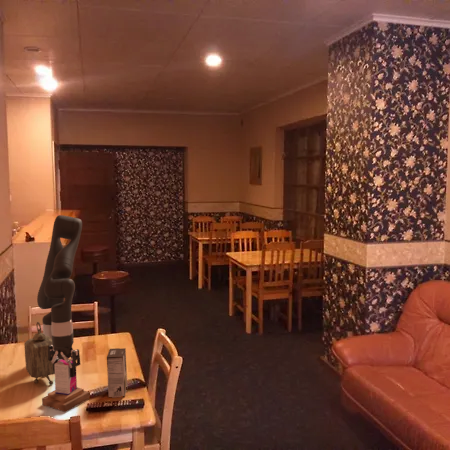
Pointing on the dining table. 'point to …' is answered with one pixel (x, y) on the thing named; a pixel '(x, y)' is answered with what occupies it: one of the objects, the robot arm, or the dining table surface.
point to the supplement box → (64, 379)
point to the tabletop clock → (38, 356)
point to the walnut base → (65, 405)
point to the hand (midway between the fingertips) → (64, 374)
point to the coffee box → (117, 372)
